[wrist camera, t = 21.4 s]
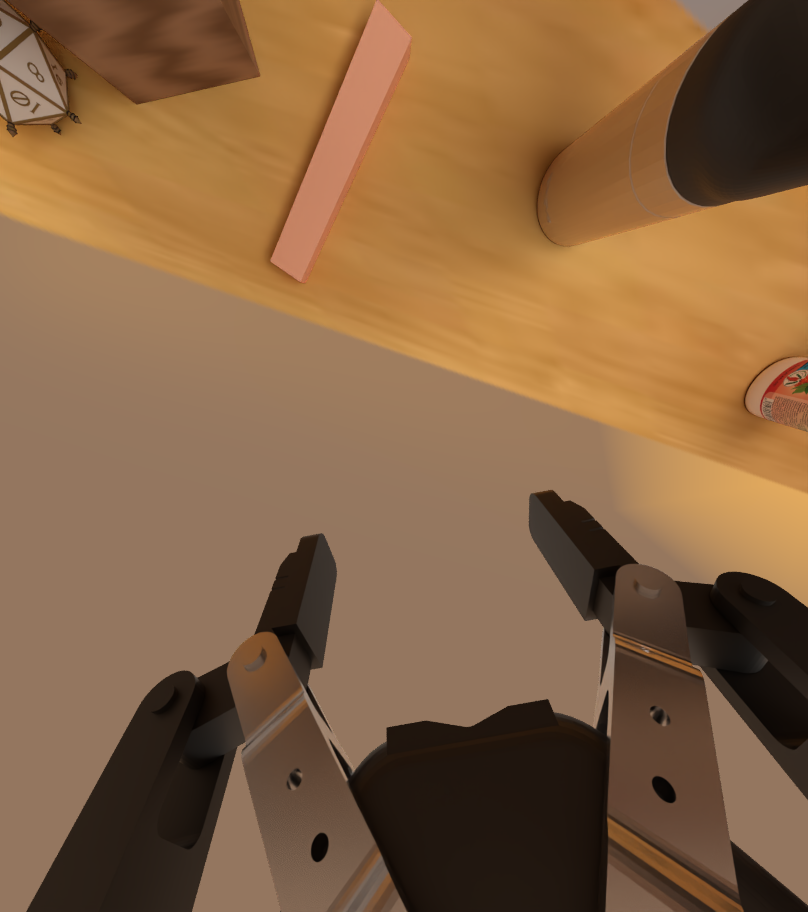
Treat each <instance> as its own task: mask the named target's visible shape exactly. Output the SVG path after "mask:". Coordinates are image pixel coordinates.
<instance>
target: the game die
mask: <svg viewBox="0 0 808 912" xmlns="http://www.w3.org/2000/svg"><path fill="white" fill-rule="evenodd" d="M40 30H43V29H42V28H41V27H39V26H38V25H37V24H36V23H34V22H33V21H31V20H30V24H29V23H28V22H27V21H26V20H25V19H24V18H23V17H22V16H21V15H20V14H18V13H17V12H16V11H15V10H14V9H13V8H12V7H11V6H10V5H9V4H8V3H7V2H6V1H5V0H0V116H1V117H2V118H3V119H5V120H6V121H7V122H8V125H6V126H7V130H8V131H9V132H10V134H11V135H12V137H14V136H15V135H16V134H18V133H17V132H16V131H17V130H16V129H15V125H51V128H52V129H53V130H54V132H56V133H58V134H60V135H61V132H60V131H61V130H60V129H59V128H58V126H56V125H55V124H54V123H56V122H58V121H59V120H61V119H63V118H64V117H66V116H69V117H70V118H71V119H72V120H73V121H74V122H75V123H79V124H82V123H81V122H80V120H79V118H78V116H76V115H75V114H74V113H71V112H70V111H69V100H68V87H67V76H68V77H70V78H71V79H72V78H74V79H75V78H76V77H77V76H78V75H77V74H75V73H74V72H73V71H72V70H69V69H67V70H64V69H63V67H62V66H61V65H60V63H59V62H58V61H57V59H56V58H55V56H54V55H53V54H52V52H51V51H50V50H49V48H48V47H47V46H46V44H45V43H44V41H43V40H42V39H41V37H40V36H39V35H38V33H37V31H39V32H41V31H40Z"/></svg>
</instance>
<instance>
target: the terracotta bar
mask: <svg viewBox="0 0 808 912" xmlns="http://www.w3.org/2000/svg"><path fill="white" fill-rule="evenodd" d="M411 40H412V37H411V36H410V35H409V34H408V33H407V31H406V30H405V29H404V28H403V27H402V26H401V25H400V24H399V22H398V21H397V20H396V19H395V18H394V17H393V16H392V15H391V14H390V12H389V11H388V10H387V9H386V8H385V7H384V6H383V5H382V3H381V2H380V1H379V0H376V2H375V5H374V7H373V10H372V12H371V15H370V17H369V20H368V22H367V25H366V27H365V29H364V32H363V34H362V37H361V39H360V42H359V44H358V47H357V49H356V52H355V54H354V56H353V59H352V61H351V64H350V66H349V69H348V71H347V74H346V76H345V79H344V81H343V83H342V86H341V88H340V91H339V93H338V96H337V98H336V101H335V103H334V106H333V108H332V111H331V113H330V115H329V118H328V120H327V123H326V125H325V128H324V130H323V133H322V135H321V138H320V140H319V142H318V145H317V147H316V150H315V152H314V155H313V157H312V160H311V162H310V165H309V167H308V169H307V172H306V174H305V177H304V179H303V182H302V184H301V187H300V189H299V192H298V194H297V196H296V199H295V201H294V204H293V206H292V209H291V211H290V214H289V216H288V219H287V221H286V224H285V226H284V228H283V231H282V233H281V236H280V238H279V241H278V243H277V246H276V248H275V251H274V253H273V255H272V258H271V260H270V261H271V262H272V263H274V264H275V265H276V266H278V267H279V268H281V269H282V270H284V271H285V272H286V273H288V274H289V275H291V276H292V277H294V278H295V279H296V280H298V281H299V282H302V283H306V281H307V279H308V277H309V275H310V273H311V270H312V268H313V266H314V264H315V262H316V260H317V257H318V255H319V253H320V251H321V249H322V247H323V245H324V242H325V240H326V238H327V236H328V234H329V232H330V229H331V227H332V225H333V223H334V221H335V219H336V216H337V214H338V212H339V210H340V208H341V206H342V203H343V201H344V199H345V197H346V195H347V193H348V190H349V188H350V186H351V184H352V182H353V180H354V177H355V175H356V173H357V171H358V169H359V167H360V164H361V162H362V160H363V158H364V156H365V154H366V151H367V149H368V147H369V145H370V143H371V141H372V138H373V136H374V134H375V132H376V130H377V128H378V126H379V123H380V121H381V119H382V117H383V115H384V113H385V110H386V108H387V106H388V104H389V102H390V100H391V97H392V95H393V93H394V91H395V89H396V87H397V84H398V82H399V80H400V78H401V76H402V74H403V71H404V69H405V67H406V65H407V63H408V61H409V56H410V48H411Z"/></svg>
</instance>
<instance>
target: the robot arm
mask: <svg viewBox="0 0 808 912" xmlns="http://www.w3.org/2000/svg"><path fill="white" fill-rule="evenodd" d="M805 185H808V0H748V1H747V2H746V3H744V4H743V5H742V6H741V7H740V8H739V9H737V10H736V11H735V12H733V13H732V14H731V15H730V16H728V17H727V18H726V19H725V20H724V21H722V22H721V23H720V24H719V25H717V26H716V27H715V28H714V29H712V30H711V31H710V32H709V33H707V34H706V35H705V36H704V37H702V38H701V39H700V40H699V41H698V42H696V43H695V44H694V45H693V46H691V47H690V48H689V49H688V50H686V51H685V52H684V53H683V54H682V55H681V56H679V57H678V58H677V59H676V60H674V61H673V62H672V63H671V64H670V65H668V66H667V67H666V68H665V69H663V70H662V71H661V72H660V73H658V74H657V75H656V76H655V77H653V78H652V79H651V80H650V81H649V82H647V83H646V84H645V85H644V86H642V87H641V88H640V89H639V90H637V91H636V92H635V93H634V94H633V95H631V96H630V97H629V98H628V99H626V100H625V101H624V102H623V103H621V104H620V105H619V106H618V107H616V108H615V109H614V110H613V111H612V112H610V113H609V114H608V115H607V116H605V117H604V118H603V119H602V120H600V121H599V122H598V123H597V124H595V125H594V126H593V127H592V128H591V129H589V130H588V131H587V132H585V133H584V134H583V135H582V136H581V137H579V138H578V139H577V140H576V141H574V142H573V143H572V144H571V145H570V146H568V147H567V148H566V149H565V150H563V151H562V152H561V153H560V154H559V155H558V156H557V157H556V159H555V160H554V161H553V162H552V164H551V165H550V167H549V168H548V170H547V172H546V174H545V176H544V178H543V181H542V183H541V187H540V190H539V194H538V204H537V208H538V218H539V222H540V226H541V228H542V230H543V232H544V233H545V235H546V236H547V237H548V238H549V239H550V240H551V241H553V242H554V243H556V244H559V245H562V246H573V245H578V244H582V243H585V242H589V241H593V240H597V239H600V238H604V237H608V236H611V235H615V234H619V233H622V232H626V231H630V230H633V229H637V228H640V227H644V226H648V225H651V224H655V223H659V222H662V221H666V220H669V219H673V218H677V217H680V216H683V215H687V214H690V213H694V212H698V211H701V210H705V209H708V208H712V207H716V206H719V205H723V204H727V203H730V202H734V201H742V200H748V199H753V198H757V197H762V196H766V195H770V194H774V193H777V192H781V191H785V190H789V189H793V188H797V187H801V186H805ZM529 529H530V533H531V536H532V538H533V540H534V542H535V543H536V545H537V547H538V548H539V549H540V551H541V553H542V554H543V556H544V558H545V559H546V561H547V562H548V564H549V565H550V567H551V568H552V570H553V572H554V573H555V575H556V576H557V578H558V579H559V581H560V583H561V584H562V586H563V587H564V589H565V590H566V592H567V593H568V595H569V597H570V598H571V600H572V601H573V603H574V604H575V606H576V608H577V609H578V611H579V612H580V614H581V616H582V617H583V619H584V620H585V621H587V620H593V619H598V620H599V621H600V623H601V624H602V626H603V627H604V628H603V634H602V645H601V657H600V658H601V659H600V670H599V682H598V693H597V700H596V707H595V714H594V721H593V727H592V726H590V725H588V724H586V723H584V722H583V721H580V720H578V719H576V718H573V717H570V716H567V715H564V714H560V713H554V712H553V710H552V707H551V705H550V703H549V700H548V699H546V700H540V701H535V702H529V703H523V704H518V705H512V706H507V707H506V708H504V709H502V710H500V711H499V712H497V713H495V714H493V715H491V716H490V717H488V718H486V719H484V720H483V721H481V722H479V723H477V724H475V725H474V726H471V727H462V726H456V725H450V724H444V723H437V722H430V721H422V722H415V723H410V724H404V725H399V726H393V727H388V728H387V742H385V743H383V744H381V745H380V746H379V747H377V748H376V749H375V750H373V751H372V752H371V753H370V754H369V755H368V756H367V757H366V758H365V759H364V760H363V761H362V762H361V764H360V765H359V766H358V767H357V769H356V770H354V767H353V766H352V764H351V762H350V760H349V758H348V757H347V755H346V753H345V751H344V750H343V748H342V746H341V745H340V743H339V741H338V739H337V738H336V736H335V734H334V732H333V730H332V728H331V726H330V724H329V722H328V721H327V718H326V717H325V715H324V713H323V711H322V709H321V707H320V705H319V703H318V701H317V699H316V697H315V695H314V694H313V692H312V690H311V688H310V686H309V684H308V680H309V675H310V670H311V669H316V668H322V666H323V660H324V654H325V647H326V641H327V634H328V628H329V621H330V615H331V608H332V602H333V596H334V590H335V583H336V576H337V570H336V563H335V560H334V558H333V556H332V553H331V551H330V548H329V546H328V543H327V541H326V539H325V536H324V535H323V534H322V533H321V534H316V535H310V536H305V537H302V538H301V540H300V543H299V546H298V549H297V552H295V553H290V554H289V555H288V556H287V558H286V559H285V560H284V561H283V563H282V564H281V566H280V568H279V570H278V573H277V576H276V580H275V581H274V584H273V587H272V591H271V592H270V594H269V597H268V600H267V602H266V605H265V608H264V610H263V613H262V616H261V618H260V621H259V624H258V627H257V629H256V632H255V634H254V635H253V636H251V637H250V638H248V639H247V640H246V641H245V642H243V643H242V644H241V645H240V646H239V647H238V649H237V650H236V651H235V652H234V654H233V655H232V657H231V659H230V661H229V662H228V663H226V664H224V665H222V666H220V667H218V668H216V669H214V670H212V671H210V672H208V673H206V674H204V675H202V676H200V677H198V678H197V677H195V675H193V674H192V673H191V672H189V671H179V672H176V673H174V674H171V675H170V676H168V677H166V678H165V679H163V680H162V681H161V682H160V683H158V684H157V685H156V686H155V687H154V688H153V689H152V690H151V691H150V692H149V693H148V694H147V696H146V697H145V698H144V700H143V701H142V702H141V704H140V705H139V707H138V709H137V711H136V713H135V715H134V716H133V718H132V720H131V722H130V724H129V725H128V727H127V729H126V731H125V733H124V734H123V736H122V738H121V740H120V742H119V744H118V745H117V747H116V749H115V751H114V753H113V754H112V756H111V758H110V760H109V762H108V764H107V765H106V767H105V769H104V771H103V773H102V775H101V776H100V778H99V780H98V782H97V784H96V786H95V787H94V789H93V791H92V793H91V795H90V796H89V799H88V800H87V802H86V804H85V806H84V808H83V809H82V811H81V813H80V815H79V817H78V819H77V820H76V822H75V824H74V826H73V827H72V829H71V831H70V833H69V835H68V837H67V839H66V840H65V842H64V844H63V846H62V848H61V849H60V851H59V853H58V855H57V857H56V858H55V860H54V862H53V864H52V866H51V868H50V869H49V871H48V873H47V875H46V877H45V879H44V881H43V882H42V884H41V886H40V888H39V890H38V892H37V893H36V895H35V897H34V899H33V901H32V902H31V904H30V906H29V908H28V910H27V912H192V909H193V905H194V902H195V898H196V894H197V891H198V887H199V884H200V880H201V877H202V873H203V869H204V866H205V862H206V858H207V854H208V851H209V848H210V844H211V840H212V837H213V833H214V829H215V826H216V822H217V818H218V815H219V811H220V808H221V804H222V801H223V797H224V793H225V790H226V786H227V782H228V779H229V775H230V772H231V768H232V764H233V761H234V757H235V754H236V749H237V746H239V745H241V744H243V743H244V742H246V747H245V748H244V749H243V750H242V762H243V767H244V771H245V775H246V779H247V782H248V786H249V790H250V794H251V798H252V801H253V805H254V809H255V813H256V817H257V821H258V825H259V828H260V832H261V836H262V840H263V844H264V848H265V851H266V855H267V859H268V863H269V867H270V871H271V874H272V878H273V882H274V886H275V890H276V894H277V897H278V901H279V905H280V909H281V911H280V912H808V905H807V904H805V903H804V902H803V901H802V900H801V899H800V898H798V897H797V896H796V895H795V894H794V893H792V892H791V891H790V890H789V889H788V888H787V887H785V886H784V885H783V884H782V883H781V882H779V881H778V880H777V879H776V878H775V877H773V876H772V875H771V874H770V873H769V872H768V871H766V870H765V869H764V868H763V867H762V866H760V865H759V864H758V863H757V862H756V861H754V860H753V859H752V858H751V857H750V856H748V855H747V854H746V853H745V852H743V850H741V849H740V848H739V847H738V846H736V845H735V844H734V843H733V842H732V841H731V840H730V837H729V831H728V824H727V818H726V812H725V806H724V800H723V793H722V788H721V781H720V775H719V768H718V763H717V756H716V750H715V744H714V738H713V731H712V725H711V719H710V713H709V706H708V701H707V694H706V688H705V682H704V679H703V676H702V673H701V671H700V670H699V669H697V668H694V667H693V666H692V665H698V666H700V667H701V668H702V670H703V671H704V672H705V673H706V674H707V676H708V677H709V678H710V679H711V681H712V682H713V683H714V684H715V686H716V687H717V688H718V689H719V691H720V692H721V693H722V694H723V696H724V697H725V698H726V699H727V700H728V701H729V703H730V704H731V705H732V707H733V708H734V709H735V710H736V712H737V713H738V714H739V715H740V717H741V718H742V719H743V720H744V722H745V723H746V724H747V725H748V726H749V728H750V729H751V730H752V731H753V733H754V734H755V735H756V736H757V737H758V739H759V740H760V741H761V742H762V744H763V745H764V746H765V747H766V749H767V750H768V751H769V752H770V754H771V755H772V756H773V757H774V759H775V760H776V761H777V762H778V764H779V765H780V766H781V767H782V769H783V770H784V771H785V772H786V773H787V775H788V776H789V777H790V778H791V780H792V781H793V782H794V783H795V784H796V786H797V787H798V788H799V789H800V791H801V792H802V793H803V795H804V796H805V797H806V798H807V799H808V607H806V606H805V605H804V604H802V603H801V602H799V601H798V600H797V599H795V598H794V597H793V596H792V595H791V594H789V593H788V592H787V591H785V590H784V589H782V588H781V587H779V586H777V585H776V584H774V583H772V582H770V581H768V580H766V579H763V578H761V577H758V576H755V575H751V574H748V573H742V572H726V573H723V574H721V575H719V576H718V578H717V580H716V582H715V584H714V585H711V584H701V583H690V582H680V581H674V580H673V579H672V578H670V577H669V576H668V575H666V574H665V573H663V572H661V571H660V570H658V569H655V568H653V567H650V566H647V565H642V564H639V563H638V562H636V561H635V560H634V558H633V557H632V556H631V555H630V554H629V553H628V552H627V551H626V550H625V549H624V548H623V547H622V546H621V545H619V543H617V541H616V540H615V539H614V538H613V537H612V536H611V535H610V534H609V533H608V532H607V531H606V530H605V529H603V527H602V526H601V525H600V524H599V523H598V522H597V521H595V519H594V518H593V517H592V516H591V515H590V514H589V513H588V511H587V510H586V509H585V508H583V507H581V506H579V505H577V504H576V503H574V502H572V501H565V502H564V501H563V500H562V499H561V498H560V497H559V496H558V495H557V494H556V493H555V492H554V491H553V490H548V491H543V492H537V493H532V494H531V495H530V499H529Z"/></svg>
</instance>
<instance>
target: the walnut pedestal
mask: <svg viewBox="0 0 808 912" xmlns="http://www.w3.org/2000/svg"><path fill="white" fill-rule="evenodd" d="M7 1H8V2H9V3H11V4H12V5H13V6H14V7H16V8H17V9H18V10H19V11H21V12H22V13H23V14H24V15H26V16H27V17H28V18H29V19H31V20H32V21H33V22H34V23H36V24H37V25H38V26H39V27H41V28H42V29H43V30H44V31H46V32H47V33H48V34H49V35H51V36H52V37H53V38H54V39H56V40H57V41H58V42H59V43H61V44H62V45H63V46H64V47H66V48H67V49H68V50H69V51H71V52H72V53H73V54H74V55H76V56H77V57H78V58H79V59H81V60H82V61H83V62H84V63H86V64H87V65H88V66H89V67H91V68H92V69H93V70H94V71H96V72H97V73H98V74H99V75H101V76H102V77H103V78H104V79H106V80H107V81H108V82H109V83H111V84H112V85H113V86H114V87H116V88H117V89H118V90H119V91H121V92H122V93H123V94H124V95H126V96H127V97H128V98H129V99H131V100H132V101H133V102H134V103H136V104H140V103H145V102H149V101H153V100H158V99H162V98H166V97H171V96H175V95H180V94H184V93H188V92H193V91H197V90H202V89H206V88H210V87H215V86H219V85H223V84H228V83H232V82H237V81H241V80H245V79H250V78H254V77H258V76H260V73H259V69H258V66H257V62H256V59H255V55H254V51H253V48H252V44H251V41H250V37H249V34H248V30H247V26H246V23H245V19H244V16H243V12H242V8H241V5H240V1H239V0H7Z"/></svg>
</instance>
